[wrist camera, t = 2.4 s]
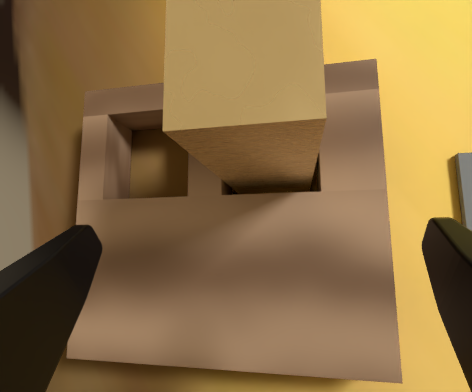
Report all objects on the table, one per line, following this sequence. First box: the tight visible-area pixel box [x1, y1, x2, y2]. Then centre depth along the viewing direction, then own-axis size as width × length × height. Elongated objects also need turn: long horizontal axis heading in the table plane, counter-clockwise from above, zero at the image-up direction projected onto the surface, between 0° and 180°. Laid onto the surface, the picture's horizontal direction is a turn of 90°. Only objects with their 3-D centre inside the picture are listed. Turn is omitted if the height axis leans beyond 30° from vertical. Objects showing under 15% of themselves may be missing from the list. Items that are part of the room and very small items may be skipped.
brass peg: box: [163, 0, 327, 194], centre depth 14 cm, size 4×4×12 cm
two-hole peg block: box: [67, 59, 402, 383], centre depth 19 cm, size 16×18×3 cm
